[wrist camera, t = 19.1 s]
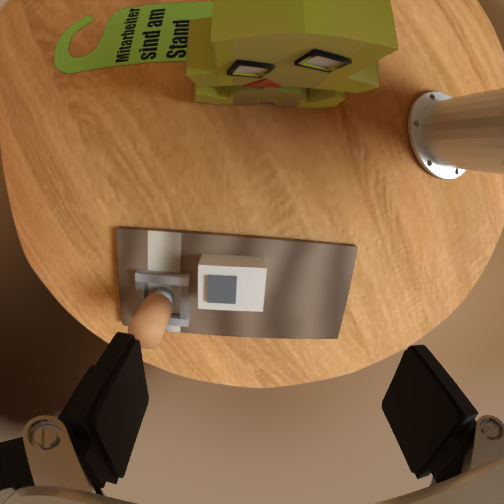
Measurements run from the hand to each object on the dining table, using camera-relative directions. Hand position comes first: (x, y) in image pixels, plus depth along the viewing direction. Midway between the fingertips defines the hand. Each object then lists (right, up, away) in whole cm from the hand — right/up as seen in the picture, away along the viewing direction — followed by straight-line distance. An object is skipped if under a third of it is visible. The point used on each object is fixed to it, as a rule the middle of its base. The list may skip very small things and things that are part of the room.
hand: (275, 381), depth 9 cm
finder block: (-3, +1, +25) cm, 25 cm away
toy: (+1, +23, +21) cm, 31 cm away
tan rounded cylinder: (-11, -1, +25) cm, 28 cm away
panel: (-3, 0, +27) cm, 27 cm away
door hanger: (-15, +32, +18) cm, 39 cm away
